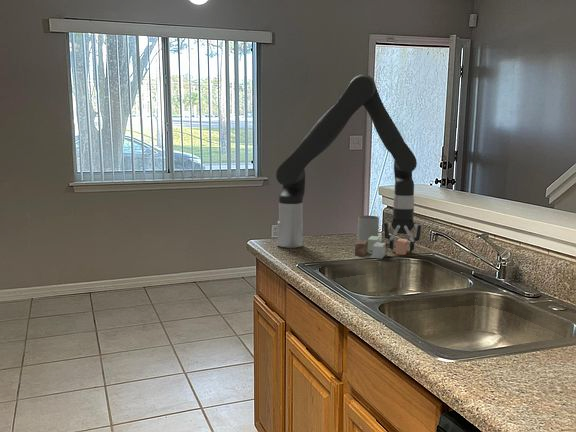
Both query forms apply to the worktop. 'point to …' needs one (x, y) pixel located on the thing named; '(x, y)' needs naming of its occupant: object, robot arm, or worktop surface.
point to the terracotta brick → (402, 246)
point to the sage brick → (372, 242)
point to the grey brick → (379, 250)
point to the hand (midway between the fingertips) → (401, 250)
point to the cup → (367, 227)
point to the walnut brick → (361, 247)
